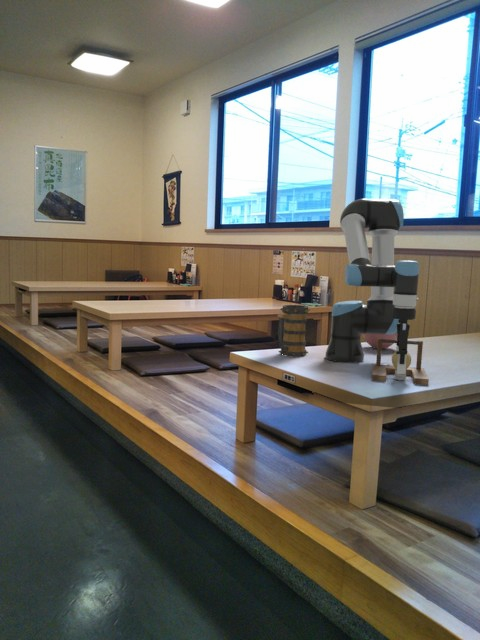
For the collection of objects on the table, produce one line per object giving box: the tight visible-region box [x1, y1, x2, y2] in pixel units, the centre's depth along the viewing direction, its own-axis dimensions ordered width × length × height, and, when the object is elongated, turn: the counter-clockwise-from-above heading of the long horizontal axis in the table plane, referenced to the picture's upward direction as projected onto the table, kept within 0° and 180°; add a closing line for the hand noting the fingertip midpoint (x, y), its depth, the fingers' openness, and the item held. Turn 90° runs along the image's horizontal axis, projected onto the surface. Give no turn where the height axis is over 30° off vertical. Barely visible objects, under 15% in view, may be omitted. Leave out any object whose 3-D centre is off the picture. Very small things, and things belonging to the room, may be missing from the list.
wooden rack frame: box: [371, 338, 430, 386], centre depth 188 cm, size 18×18×12 cm
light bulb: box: [391, 351, 412, 381], centre depth 183 cm, size 6×6×10 cm
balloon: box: [362, 332, 397, 350], centre depth 241 cm, size 15×20×15 cm
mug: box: [276, 304, 311, 358], centre depth 221 cm, size 13×17×20 cm
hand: (400, 369), depth 183 cm, fingers open, 13 cm apart
